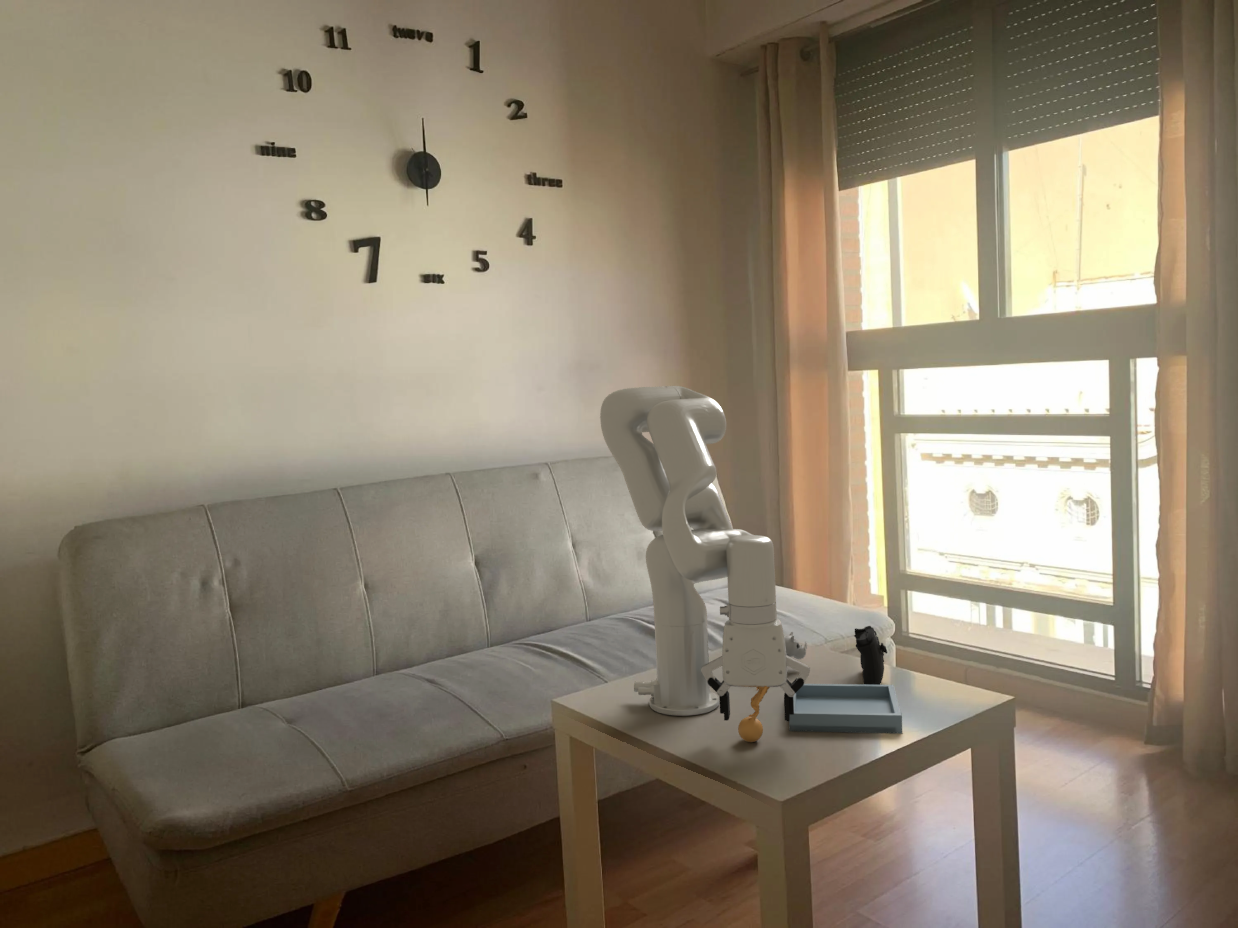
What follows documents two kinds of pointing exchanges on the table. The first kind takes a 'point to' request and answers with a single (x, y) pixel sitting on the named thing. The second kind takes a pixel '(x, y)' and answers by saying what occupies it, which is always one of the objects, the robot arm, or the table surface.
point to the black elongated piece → (870, 655)
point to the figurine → (753, 719)
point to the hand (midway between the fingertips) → (757, 718)
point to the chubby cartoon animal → (794, 647)
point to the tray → (846, 709)
